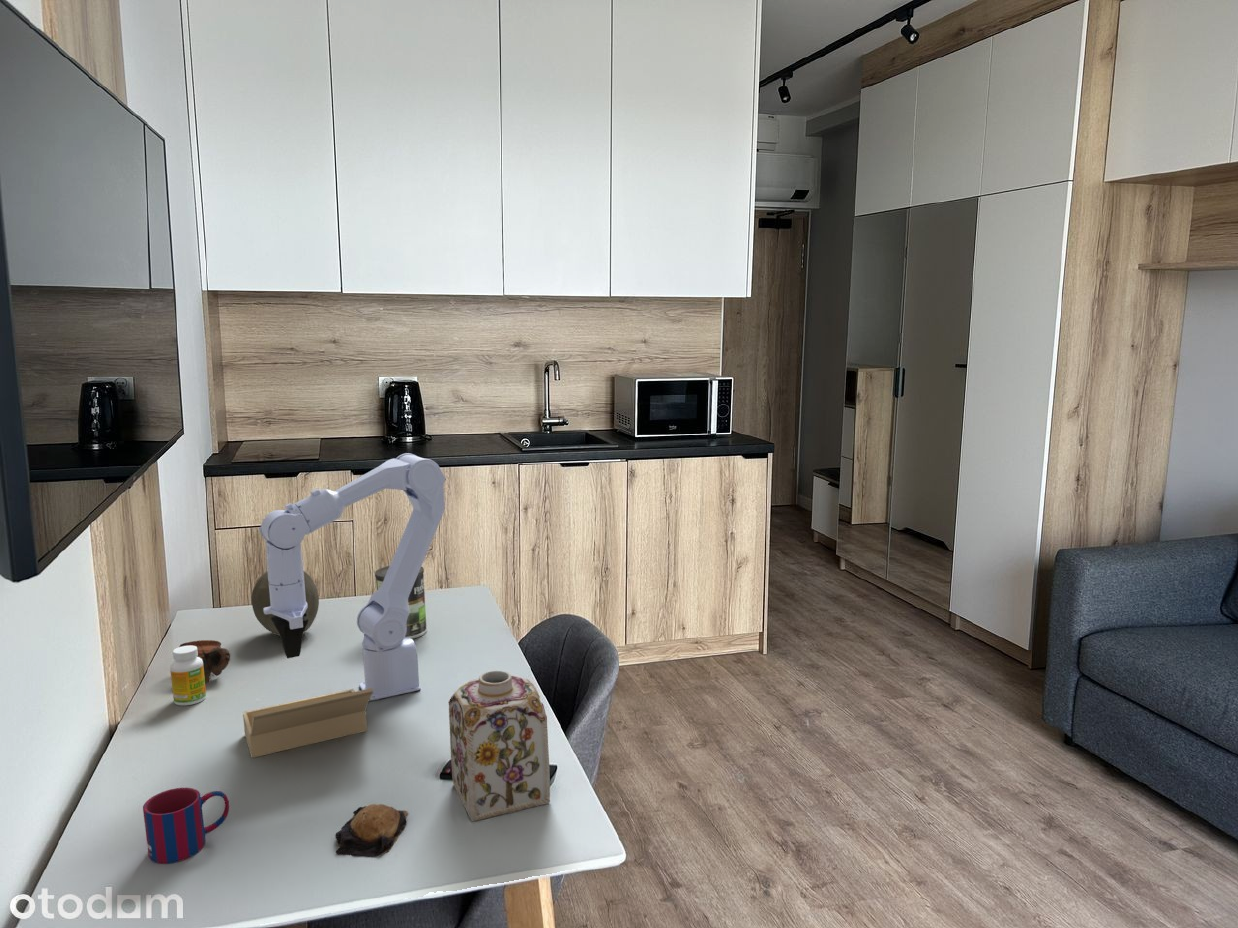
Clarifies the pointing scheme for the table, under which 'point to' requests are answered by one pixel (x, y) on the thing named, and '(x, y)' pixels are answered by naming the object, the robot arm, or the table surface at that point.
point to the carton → (302, 729)
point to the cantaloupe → (263, 600)
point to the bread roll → (371, 831)
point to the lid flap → (310, 712)
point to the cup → (177, 824)
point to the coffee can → (411, 604)
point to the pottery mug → (211, 656)
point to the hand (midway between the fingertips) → (292, 656)
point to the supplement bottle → (187, 676)
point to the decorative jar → (499, 745)
